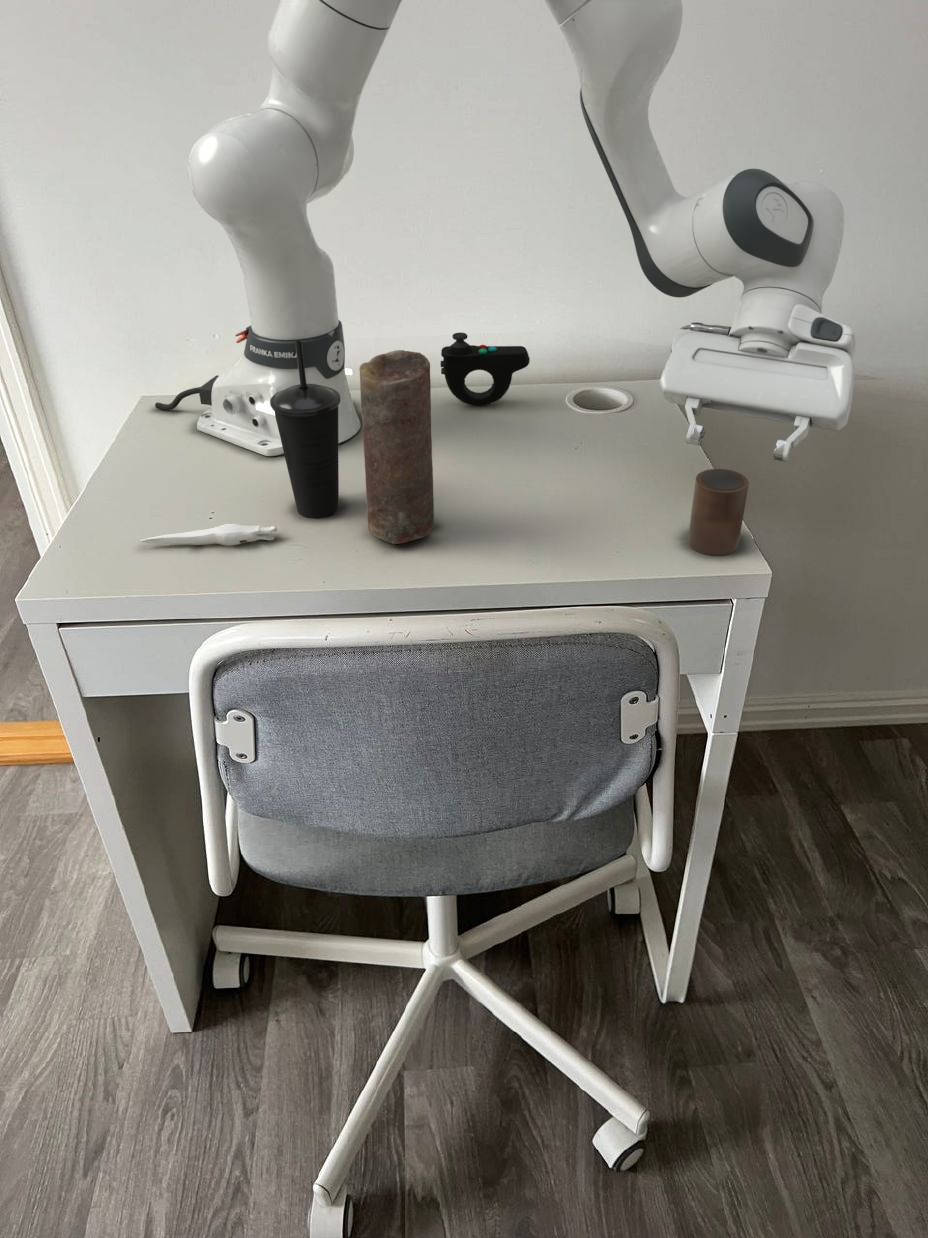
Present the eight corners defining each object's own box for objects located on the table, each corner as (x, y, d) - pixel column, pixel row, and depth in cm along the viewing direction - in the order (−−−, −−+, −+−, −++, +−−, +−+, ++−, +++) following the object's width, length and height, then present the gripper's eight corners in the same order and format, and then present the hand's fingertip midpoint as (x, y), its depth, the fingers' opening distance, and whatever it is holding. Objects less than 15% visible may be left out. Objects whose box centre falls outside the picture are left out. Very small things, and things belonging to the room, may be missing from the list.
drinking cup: (339, 527, 111) (321, 355, 99) (275, 521, 112) (250, 351, 101) (359, 495, 117) (343, 330, 105) (298, 490, 118) (276, 327, 107)
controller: (442, 398, 141) (440, 329, 135) (528, 397, 141) (529, 328, 135) (441, 410, 137) (439, 340, 132) (529, 409, 137) (530, 338, 131)
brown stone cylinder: (449, 536, 109) (444, 362, 97) (396, 559, 105) (384, 381, 93) (407, 511, 113) (398, 342, 102) (355, 532, 110) (339, 359, 98)
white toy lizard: (279, 532, 110) (277, 518, 109) (277, 544, 108) (275, 530, 107) (143, 541, 109) (140, 527, 108) (139, 554, 107) (135, 539, 106)
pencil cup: (681, 549, 106) (689, 485, 101) (695, 526, 109) (703, 464, 105) (731, 560, 103) (741, 495, 99) (743, 536, 107) (754, 473, 103)
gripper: (675, 306, 108) (638, 422, 106) (870, 332, 100) (832, 457, 98) (683, 333, 113) (647, 444, 112) (867, 360, 105) (832, 479, 104)
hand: (735, 450), depth 105 cm, fingers open, 8 cm apart
